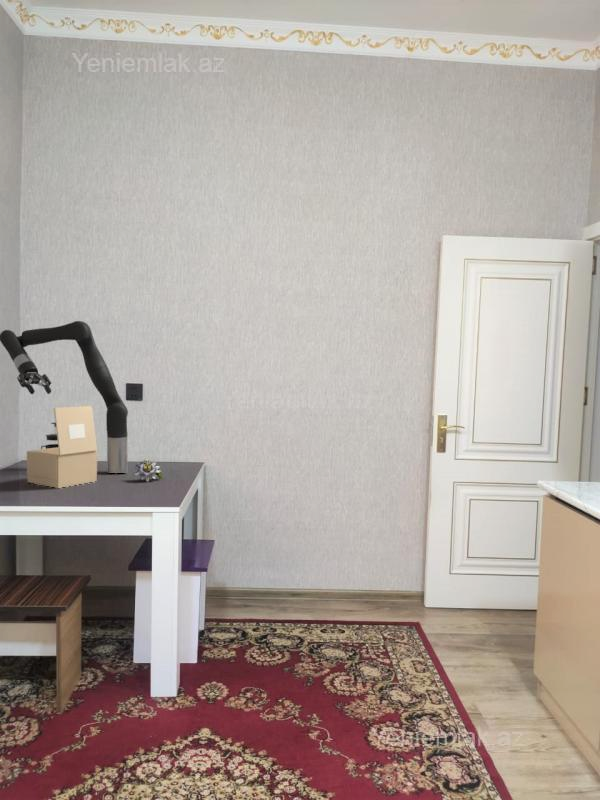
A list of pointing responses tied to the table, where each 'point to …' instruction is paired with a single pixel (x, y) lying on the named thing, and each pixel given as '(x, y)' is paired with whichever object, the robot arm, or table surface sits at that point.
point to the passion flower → (147, 470)
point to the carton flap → (75, 429)
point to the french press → (52, 437)
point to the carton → (61, 467)
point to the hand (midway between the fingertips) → (41, 392)
